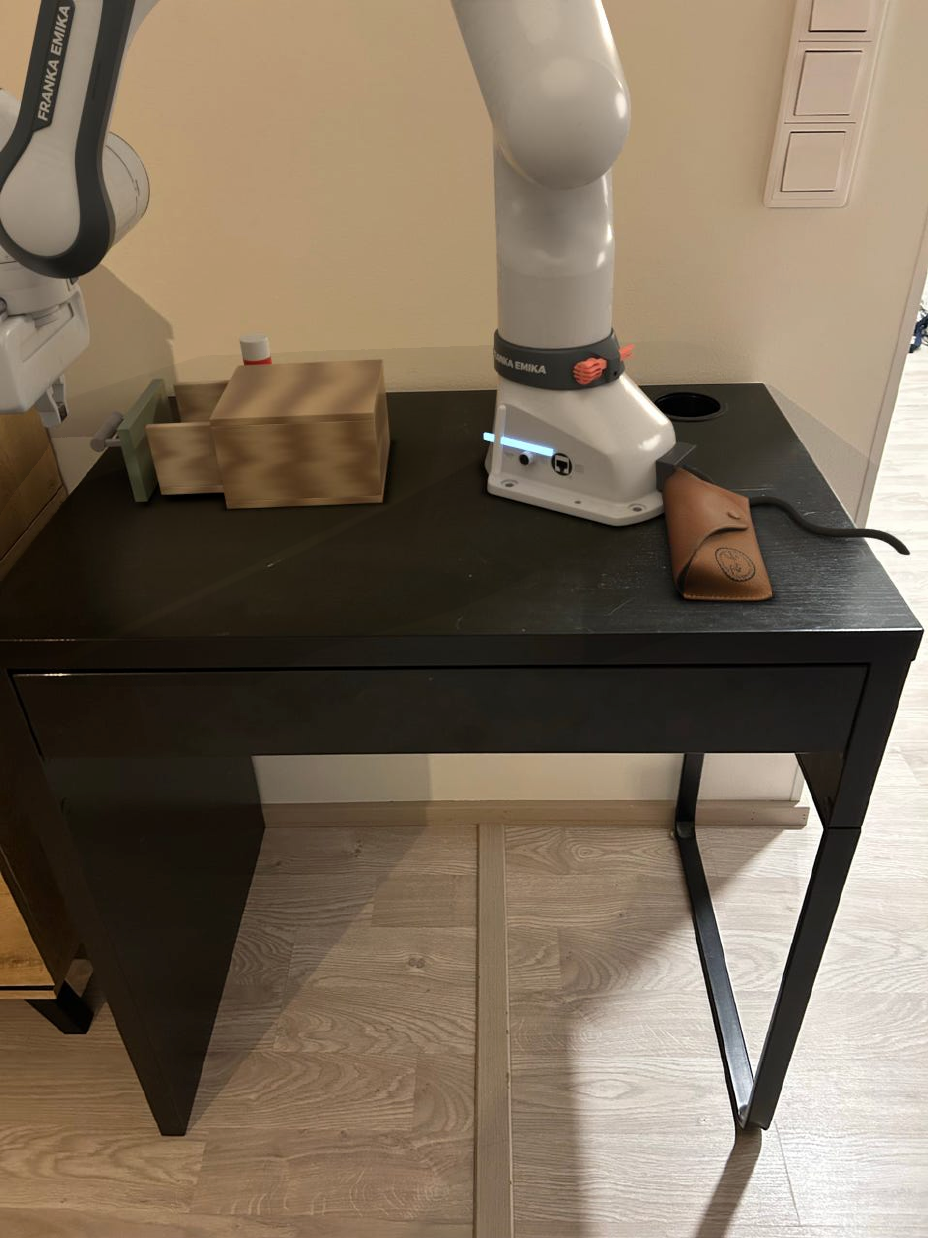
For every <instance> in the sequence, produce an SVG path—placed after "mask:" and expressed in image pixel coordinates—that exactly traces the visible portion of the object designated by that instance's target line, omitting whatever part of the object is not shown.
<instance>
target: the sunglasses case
mask: <svg viewBox="0 0 928 1238" xmlns="http://www.w3.org/2000/svg"><path fill="white" fill-rule="evenodd" d="M748 498H749V497H746V496H744V495H742V494H739V493H736V492H733V491H731V490H728V489H725V488H723V487H720V486H718V485H716V486H715V485H712V484H710V483H708V482H705V481H703V480H701V479H699V478H697V477H696V476H694V475H693V474H691V473H689V472H688V471H686V470H683V469H682V468H677V469H676V470H675V472H674V474H673V475H672V476H670V477H669V478H668V479H667V480H666V481H665V482H664V484H663V486H662V499H663V505H664V518H665V519H664V521H665V523H666V525H665V526H666V531H667V532H666V533H667V537H668V546H669V554H670V561H671V572H672V577H673V583H674V586H675V589H676V590H677V591H678V592H679V594H680V595H681V596H682V597H683V598H684V599H686V600H691V601H694V600H695V601H705V602H717V603H719V602H721V603H724V602H726V603H735V602H737V603H738V602H757V601H758V602H759V601H760V602H761V601H765V600H769V599H771V598H772V597H773V591H772V590H773V589H772V588H773V587H772V585H771V581H770V578H769V574H768V571H767V569H766V565H765V562H764V560H763V556H762V553H761V549H760V545H759V543H758V539H757V536H756V535H757V534H756V532H755V527H754V523H753V518H752V515H751V506H749V500H748Z"/></svg>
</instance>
